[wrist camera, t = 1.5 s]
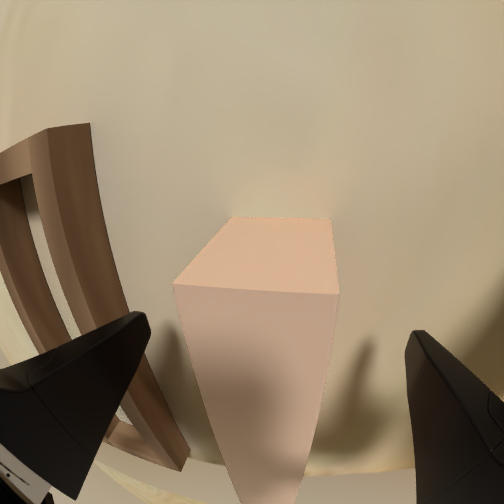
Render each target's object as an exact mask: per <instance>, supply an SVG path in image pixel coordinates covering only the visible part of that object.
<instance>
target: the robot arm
mask: <svg viewBox="0 0 504 504" xmlns="http://www.w3.org/2000/svg"><path fill="white" fill-rule="evenodd" d="M150 336H151V329H150V326H149V323H148V320H147V317H146V314H145V313H143V312H139V311H133V312H131V313H129V314H127V315H124V316H122V317H120V318H118V319H116V320H114V321H112V322H110V323H107V324H105V325H103V326H101V327H99V328H97V329H95V330H92V331H90V332H88V333H86V334H84V335H82V336H79V337H77V338H75V339H73V340H71V341H69V342H67V343H64V344H62V345H60V346H58V347H57V348H54V349H51V350H49V351H47V352H45V353H43V354H40V355H38V356H35V357H33V358H30V359H28V360H25V361H23V362H20V363H17V364H15V365H12V366H9V367H6V368H3V369H0V504H54V501H53V497H52V494H50V493H49V492H48V491H49V490H50V488H51V486H53V487H55V488H56V489H58V490H59V491H61V492H62V493H64V494H65V495H67V496H68V497H70V498H72V499H73V500H76V499H77V497H78V495H79V493H80V490H81V488H82V486H83V483H84V481H85V479H86V476H87V474H88V472H89V469H90V467H91V465H92V463H93V460H94V457H95V456H96V454H97V451H98V449H99V447H100V445H101V443H102V440H103V438H104V436H105V434H106V432H107V430H108V428H109V426H110V424H111V421H112V419H113V417H114V415H115V413H116V411H117V409H118V407H119V405H120V403H121V401H122V399H123V397H124V395H125V393H126V391H127V389H128V387H129V385H130V383H131V381H132V379H133V377H134V375H135V373H136V371H137V369H138V367H139V364H140V362H141V359H142V357H143V354H144V351H145V349H146V346H147V344H148V341H149V339H150ZM405 366H406V381H407V397H408V404H409V411H410V418H411V426H412V434H413V443H414V455H415V469H416V492H417V493H416V494H417V504H504V402H503V401H502V400H501V399H500V398H499V397H497V396H496V395H495V394H494V393H493V392H492V391H490V389H489V388H488V387H487V386H486V385H485V384H484V383H483V382H482V381H481V380H480V379H479V378H477V377H476V376H475V375H474V374H473V373H472V372H471V371H470V370H469V369H468V368H467V367H466V366H464V365H463V364H462V363H461V362H460V361H459V360H458V359H457V358H456V357H454V356H453V355H452V354H451V353H450V352H449V351H448V350H447V349H445V348H444V347H443V346H442V345H441V344H440V343H439V342H438V341H436V340H435V339H434V338H433V337H432V336H431V335H429V334H428V333H427V332H426V331H425V330H413V331H412V332H411V334H410V337H409V340H408V343H407V346H406V349H405Z"/></svg>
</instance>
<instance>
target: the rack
mask: <svg viewBox="0 0 504 504" xmlns="http://www.w3.org/2000/svg"><path fill="white" fill-rule="evenodd" d="M31 173H32V177H33V183H34V188H35V194H36V199H37V203H38V208H39V213H40V217H41V221H42V225H43V229H44V233H45V237H46V240H47V244H48V247H49V251H50V254H51V257H52V260H53V264H54V267H55V270H56V273H57V276H58V278H59V281H60V284H61V287H62V289H63V292H64V295H65V297H66V300H67V302H68V305H69V307H70V310H71V312H72V315H73V317H74V319H75V322H76V324H77V326H78V328H79V330H80V333H81V335H84V334H86V333H88V332H90V331H92V330H95V329H97V328H99V327H101V326H103V325H105V324H107V323H110V322H112V321H114V320H116V319H118V318H120V317H122V316H124V315H127V314H129V310H128V307H127V304H126V301H125V298H124V295H123V291H122V288H121V285H120V281H119V278H118V275H117V271H116V267H115V264H114V260H113V256H112V252H111V248H110V244H109V240H108V236H107V232H106V227H105V223H104V218H103V213H102V208H101V203H100V197H99V192H98V186H97V180H96V173H95V166H94V159H93V151H92V142H91V132H90V123H84V124H75V125H67V126H60V127H53V128H47V129H45V130H43V131H41V132H39V133H37V134H35V135H33V136H31V137H29V138H27V139H25V140H23V141H21V142H19V143H17V144H15V145H14V146H12V147H10V148H8V149H6V150H5V151H3V152H1V153H0V271H1V274H2V276H3V279H4V282H5V284H6V287H7V289H8V292H9V294H10V296H11V299H12V301H13V303H14V306H15V308H16V310H17V312H18V314H19V316H20V319H21V321H22V323H23V325H24V327H25V329H26V331H27V333H28V335H29V336H30V338H31V340H32V342H33V344H34V346H35V347H36V349H37V351H38V353H39V354H43V353H45V352H47V351H49V350H51V349H54V348H57V347H58V346H60V345H62V344H64V343H67V342H69V341H71V338H70V336H69V334H68V332H67V330H66V328H65V326H64V323H63V321H62V319H61V317H60V314H59V312H58V310H57V307H56V305H55V303H54V300H53V298H52V295H51V293H50V290H49V288H48V285H47V282H46V279H45V277H44V274H43V271H42V268H41V265H40V262H39V259H38V256H37V253H36V249H35V246H34V243H33V239H32V235H31V232H30V228H29V224H28V220H27V216H26V212H25V207H24V202H23V197H22V192H21V187H20V181H19V178H20V177H23V176H25V175H28V174H31ZM120 406H121V407H122V409H123V411H124V412H125V414H126V415H127V417H128V418H129V420H130V421H131V423H132V424H133V425H134V426H132V425H130V424H127V423H124V422H122V421H120V420H119V419H118V417H117V416H116V415H114V417H113V419H112V421H111V424H110V426H109V428H108V430H107V432H106V434H105V436H104V438H103V440H102V441H103V442H105V443H107V444H109V445H111V446H113V447H116V448H118V449H121V450H122V451H125V452H127V453H130V454H132V455H134V456H137V457H139V458H142V459H145V460H147V461H150V462H153V463H155V464H158V465H161V466H164V467H167V468H170V469H173V470H176V471H180V472H181V471H182V468H183V466H184V464H185V461H186V459H187V456H188V454H189V452H190V449H189V447H188V445H187V443H186V441H185V440H184V438H183V436H182V434H181V432H180V430H179V428H178V426H177V425H176V423H175V421H174V419H173V417H172V415H171V413H170V411H169V409H168V407H167V404H166V402H165V400H164V398H163V396H162V394H161V392H160V389H159V387H158V385H157V383H156V380H155V378H154V376H153V374H152V371H151V369H150V366H149V364H148V362H147V359H146V357H145V354H143V357H142V359H141V362H140V364H139V367H138V369H137V371H136V373H135V375H134V377H133V379H132V381H131V383H130V385H129V387H128V389H127V391H126V393H125V395H124V397H123V399H122V401H121V403H120Z"/></svg>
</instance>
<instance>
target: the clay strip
mask: <svg viewBox="0 0 504 504" xmlns="http://www.w3.org/2000/svg"><path fill="white" fill-rule="evenodd" d="M172 285H173V290H174V294H175V299H176V303H177V308H178V312H179V316H180V320H181V324H182V328H183V332H184V336H185V340H186V344H187V348H188V352H189V355H190V359H191V363H192V366H193V370H194V373H195V377H196V380H197V383H198V387H199V390H200V393H201V397H202V400H203V403H204V406H205V409H206V412H207V415H208V418H209V421H210V424H211V427H212V430H213V433H214V436H215V439H216V442H217V444H218V447H219V450H220V452H221V455H222V458H223V460H224V463H225V466H226V468H227V471H228V473H229V476H230V478H231V481H232V483H233V485H234V488H235V490H236V493H237V495H238V497H239V500H240V502H241V503H242V504H294V503H295V500H296V496H297V493H298V490H299V487H300V484H301V481H302V477H303V474H304V471H305V467H306V464H307V460H308V457H309V453H310V449H311V445H312V441H313V438H314V434H315V429H316V425H317V421H318V417H319V412H320V408H321V403H322V399H323V394H324V389H325V384H326V379H327V373H328V368H329V362H330V356H331V351H332V344H333V338H334V331H335V324H336V317H337V310H338V302H339V285H338V275H337V266H336V258H335V250H334V242H333V235H332V227H331V221H330V219H313V218H268V217H231V218H230V219H229V220H228V222H227V223H226V224H225V225H224V226H223V227H222V228H221V229H220V230H219V231H218V232H217V234H216V235H215V236H214V237H213V238H212V239H211V240H210V241H209V242H208V243H207V245H206V246H205V247H204V248H203V249H202V250H201V251H200V252H199V253H198V255H197V256H196V257H195V258H194V259H193V260H192V261H191V262H190V264H189V265H188V266H187V267H186V268H185V269H184V270H183V272H182V273H181V274H180V275H179V276H178V277H177V278H176V280H175V281H174V282H173V283H172Z"/></svg>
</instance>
